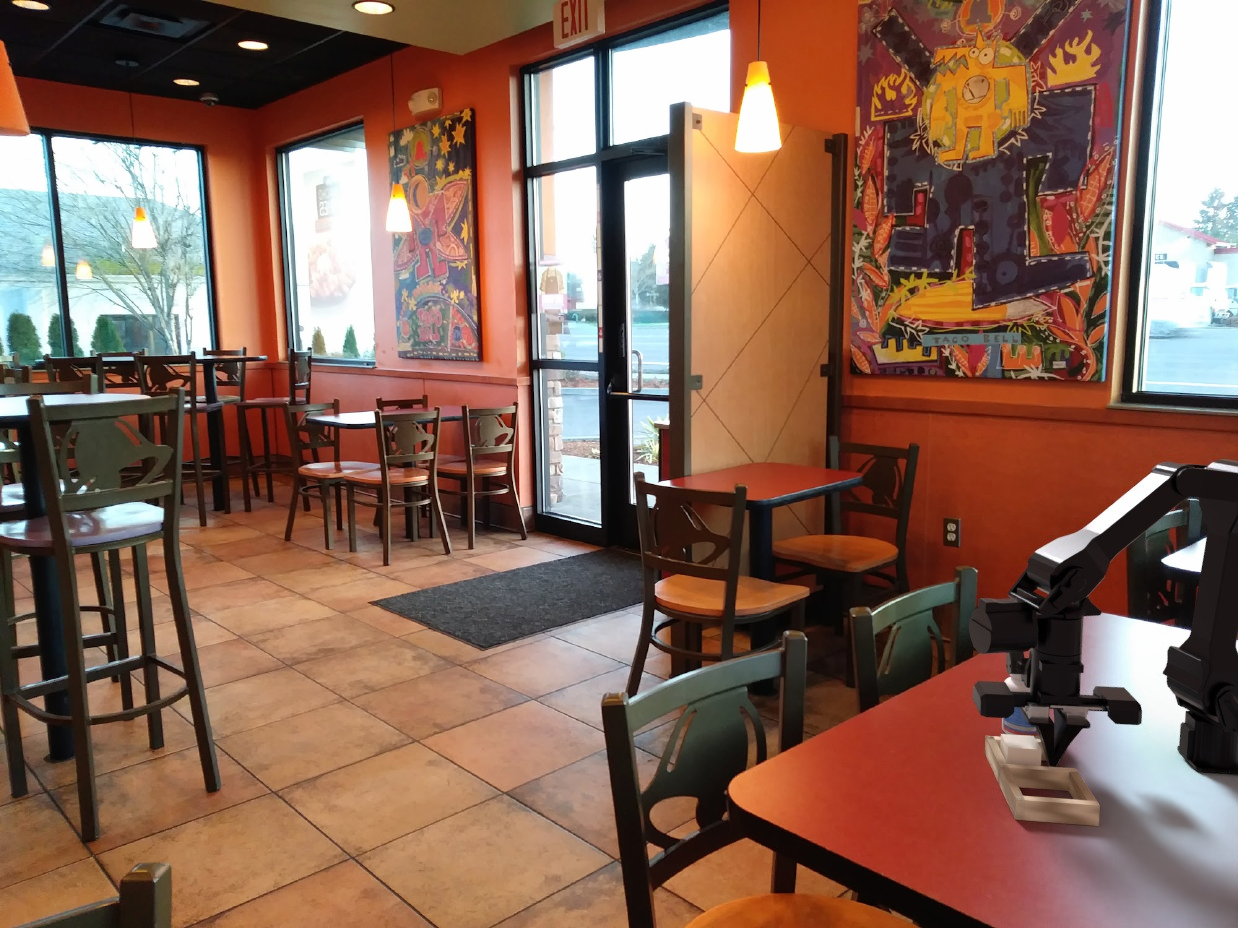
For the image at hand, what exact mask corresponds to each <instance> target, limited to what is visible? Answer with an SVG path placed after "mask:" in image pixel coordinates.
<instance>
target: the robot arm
mask: <svg viewBox="0 0 1238 928" xmlns="http://www.w3.org/2000/svg"><path fill="white" fill-rule="evenodd" d="M1191 497H1192V498H1198V505H1199V508H1200V511H1201V512H1202V513H1201V514H1202V516H1203V519H1204V521H1205V524H1206V527H1207V533H1206V540H1205V545H1204V550H1203V551H1204V552H1203V557H1202V564H1201V568H1200V575H1199V580H1198V587H1197V592H1196V598H1195V599H1196V600H1195V603H1194V604H1195V605H1194V610H1193V614H1192V616H1193V617H1192V622H1191V623H1192V624H1191V629H1190V633H1189V636H1188V638H1186V639H1185V641H1184V642H1182V644H1181V645H1180V646H1178V647H1177V646H1173V645H1170V646H1168V648H1167V652H1166V653H1167V655H1166V656H1167V659H1166V664H1165V667H1164V669H1163V671H1162V674H1163V675H1164V676H1166V685H1167V688H1169V690H1170V691H1171V692H1172V694H1173V695H1174V697H1175V700H1176V702H1177V705H1178V706H1179V707H1180V708H1183V709H1186V710H1185V714H1184V715H1185V716H1184V717H1185V718H1184V722H1181V723H1180V727H1179V728H1180V729H1179V743H1178V746H1176V747H1177V748H1176V749H1177V751H1178V752H1179V754H1181V756H1182V757H1183V758H1184V759H1185V760H1186V761H1187V762H1188V763H1189V764H1190V766H1191V767H1192V768H1193V769H1194V770H1196V771H1198V772H1204V773H1205V772H1206V773H1219V774H1235V775H1238V649H1237V640H1238V460H1234V459H1226V458H1223V459H1222V458H1221V459H1216V460H1215V461H1212V462H1211V463H1210V464H1198V463H1197V464H1195V463H1178V462H1173V461H1162V462H1160V463H1157V464H1156V465H1154V467H1152V469H1151V470H1150V474H1148V475H1146V477H1144V478H1143V479H1142V480H1140V481H1139V482H1138V483H1137V484H1136V485H1135V486H1133V487H1132V488H1131V489H1130V490H1129V491H1127V492H1126V493H1124V494H1123V495H1122V496H1121V497H1120V498H1118V499H1117V500H1116V501H1115V502H1114V503H1113V504H1112V505H1110V506H1109V507H1107V509H1105V510H1104V511H1103V512H1102V513H1100V514H1099V515H1098V516H1097V517H1095V518H1094V519H1093V520H1092V521H1090V523H1088V524H1087V525H1085V526H1084V527H1083V528H1082V529H1080V530H1078V531H1076V532H1074V533H1070V534H1067V535H1064V536H1060V537H1057V538H1056V539H1054V540H1052V541H1050V542H1049V543H1047V544H1045V545H1043V546H1042V547H1040V548H1038V549H1037V550H1035V551H1034V552H1033V553H1032V554H1031V555H1030V556H1029V558H1028V559H1027V566H1026V568H1025V569H1024V571H1023V572H1022V573H1021V575H1019V577H1018V579H1016V581H1015V582H1014V584H1013V585H1012V586H1011V588H1010V589H1009V590H1008V592H1007V597H1008V598H990V597H984V598H983V597H982V598H981V597H980V598H979V599H978V607H976V608H975V609H974V610H973V611H972V613H971V618H969V621H968V631H969V632H968V633H969V637H970V640H971V642H972V646H973V647H974V649H975V650H976V651H977V653H978V654H980V655H981V654H982V655H987V654H1005V655H1006V658H1005V659H1006V660H1005V667H1006V668H1005V669H1006V673H1007V674H1008V675H1010V674H1021V681H1024V685H1025V686H1026V688H1030V692H1013V691H1010V689H1009V687H1008V686H1007V684H1006V683H1005V682H1004V681H990V680H989V681H988V680H978V681H976V683H975V684H974V685H973V687H972V700H973V702H974V705H975V707H976V709H977V711H978V713H979V715H980V716H981V717H984V718H993V719H994V718H995V719H1002V718H1009V717H1010V716H1011V715H1012V714H1013V713H1014V708H1015V707H1019V708H1020V711H1021V713H1022V714H1023V716H1024V717H1025V719H1026V721H1027V722H1028V724H1029V725H1032V726H1035V727H1036V729H1037V732H1038V734H1039V737H1040V738H1039V739H1040V741H1041V744H1042V747H1043V750H1044V753H1045V757H1046V760H1047V761H1046V760H1045V761H1046V763H1047V765H1048V767H1058V766H1057V765H1058V764H1059V762H1061V760H1062V757H1063V756H1064V754H1065V753H1066V751H1067V750H1068V748H1069V746H1070V745H1071V744H1072V742H1073V741H1074V740H1075V739H1076V737H1078V735H1079V733H1081V731H1082V730H1084V729H1085V730H1086V729H1090V728H1091V726H1092V724H1091V722H1090V721H1089V720H1088V719H1087V716H1088V715H1089V712H1103V713H1105V712H1106V714H1107V717H1108V718H1109V720H1111V721H1112V723H1114V724H1115V725H1126V726H1127V725H1128V726H1140V725H1141V724H1142V722H1143V720H1142V718H1143V709H1142V706H1141V705H1142V704H1141V703H1140V702H1139V701H1138V700H1137V699H1136V698H1135V697H1134V696H1133V695H1132V694H1131V693H1130V691H1128V690H1127V688H1125V687H1121V686H1105V685H1104V686H1103V685H1101V686H1100V685H1099V686H1098V685H1095V686H1094V688H1093V690H1092V694H1081V685H1082V684H1081V683H1082V682H1081V680H1082V674H1084V672H1085V671H1084V670H1085V665H1084V663H1082V661H1083V660H1082V659H1083V657H1082V656H1083V643H1084V641H1083V637H1084V635H1083V634H1084V618H1085V617H1098V616H1101V615H1102V610H1101V609H1099V608H1098V607H1097V606H1096V605H1094V603H1093V602H1092V600H1090V597H1089V596H1090V595H1091V593H1092V592H1094V590H1095V589H1096V588H1097V587H1098V586H1099V584H1101V582H1102V581H1103V580H1104V579H1105V578H1106V575H1107V572H1108V570H1109V567H1110V564H1111V562H1112V561H1113V560H1114V559H1115V558H1116V556H1117V555H1118V554H1119V553H1121V552H1122V551H1123V550H1125V549H1126V548H1127V547H1129V545H1130V544H1132V543H1134V541H1135V540H1138V538H1140V537H1141V536H1142V535H1143V534H1144V533H1146V532H1147V531H1148V530H1149V529H1150V528H1152V527H1153V526H1154V525H1155V524H1156V523H1158V522H1159V521H1160V520H1161V519H1162V518H1164V517H1165V516H1167V514H1169V513H1170V512H1172V510H1173V509H1174V508H1176V507H1177V506H1179V505H1180V504H1181V503H1182V502H1183V501H1185V500H1186V499H1188V498H1191ZM1037 590H1040V591H1041V592H1043V593H1046V594H1047V596H1046V597H1045V596H1042V595H1041V594H1039V593H1037V592H1035V591H1037ZM1024 652H1025V653H1026V652H1029V653H1028V654H1029V656H1028V657H1026V656H1025V653H1024ZM1050 710H1053V720H1052V718H1051V716H1050Z"/></svg>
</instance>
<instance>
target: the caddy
mask: <svg viewBox="0 0 1238 928" xmlns="http://www.w3.org/2000/svg"><path fill="white" fill-rule="evenodd" d="M984 739H985V740H984V741H985V744H984V755H985V756H986V759H987V762H988V763H989V766H990V767H991V770H992V772H993V773H994V777H995V779H996V781H997V783H998V785H999V787H1000V789H1001V792H1002V794H1003V796H1004V798H1005V800H1006V803H1007V805H1008V807H1009V809H1010V811H1011V814H1012V815H1013V818H1014V820H1017V821H1028V822H1029V821H1030V822H1041V823H1054V824H1068V825H1069V824H1070V825H1082V826H1094V827H1095V826H1096V827H1100V811H1101V810H1100V809H1101V805H1100V804H1099V802H1098V800H1097V799H1096V797H1095V796H1094V794H1093V793H1092V791H1091V790H1090V788H1089V787H1088V785H1087V783H1086V782H1085V780H1084V779H1083V777H1082V776H1081V775H1080V772H1079V771H1078V770H1077V768H1074V767H1061V766H1060V767H1058V766H1056V767H1050V766H1044V765H1041V766H1031V765H1015V764H1007V763H1006V761H1005V759H1004V757H1003V755H1002V753H1001V751H1000V743H1001V736H996V735H995V736H993V735H985V738H984ZM1036 741H1037V743H1038V744H1039V746H1040V748H1041V749H1042V753H1041V761H1046V762H1047V760H1046V757H1045V753H1044V750H1043V747H1042V744H1041V741H1040V738H1038V739H1036ZM1020 788H1022V789H1023V788H1024V789H1025V788H1026V789H1035V790H1036V789H1037V790H1038V789H1039V790H1053V791H1067V792H1069V794H1070V795H1071V797H1072V798H1057V797H1046V796H1045V797H1044V796H1029V795H1023V793H1022V791H1021V789H1020Z"/></svg>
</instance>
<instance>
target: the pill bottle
mask: <svg viewBox="0 0 1238 928" xmlns="http://www.w3.org/2000/svg"><path fill="white" fill-rule="evenodd" d="M1003 682H1005V683H1006V684H1007V686H1008V687H1009V689H1010V691H1013V692H1030V688H1026V686H1025V685H1024V681H1021V674H1009V677H1007V678H1006V679H1005V680H1004V681H1003ZM1001 719H1002V720H1001V729H1002V731H1003V733H1004V734H1010V735H1027V736H1034V738H1035V739H1040V737H1039V734H1038V732H1037V729H1036V727H1035V726H1032V725H1029V724H1028V722H1027V721H1026V719H1025V717H1024V716H1023V714H1022V713H1021V711H1020V708H1019V707H1015V708H1014V713H1013V714H1012V715H1011V716H1010V717H1009V718H1001Z"/></svg>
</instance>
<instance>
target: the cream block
mask: <svg viewBox="0 0 1238 928" xmlns="http://www.w3.org/2000/svg"><path fill="white" fill-rule="evenodd" d="M1000 737H1001V743H1000V751H1001V753H1002V755H1003V757H1004V759H1005V761H1006V763H1007V764H1015V765H1031V766H1042V760H1041V753H1042V749H1041V748H1040V746H1039V744H1038V743H1037V741H1036V739H1035V738H1034V736H1027V735H1010V734H1006V733H1000Z"/></svg>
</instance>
